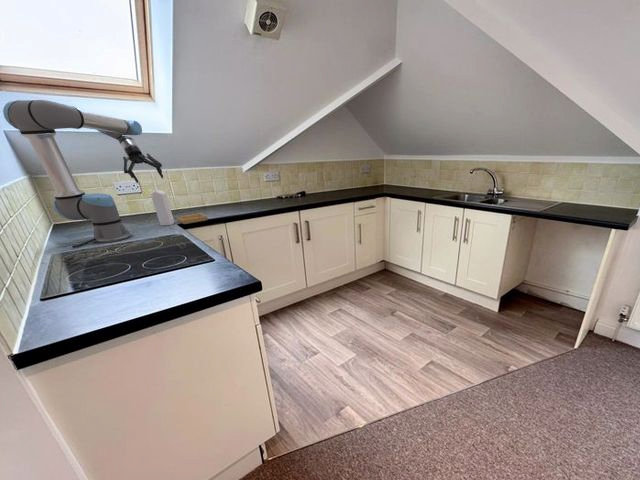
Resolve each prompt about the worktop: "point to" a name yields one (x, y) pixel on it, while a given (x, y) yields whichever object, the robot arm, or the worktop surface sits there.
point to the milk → (162, 207)
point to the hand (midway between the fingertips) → (150, 179)
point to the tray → (192, 218)
